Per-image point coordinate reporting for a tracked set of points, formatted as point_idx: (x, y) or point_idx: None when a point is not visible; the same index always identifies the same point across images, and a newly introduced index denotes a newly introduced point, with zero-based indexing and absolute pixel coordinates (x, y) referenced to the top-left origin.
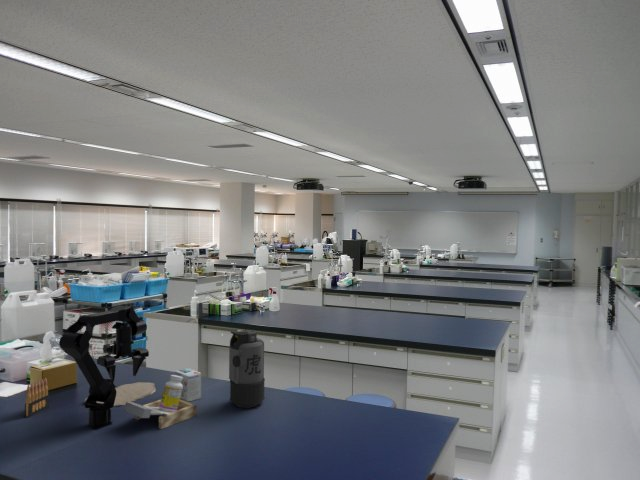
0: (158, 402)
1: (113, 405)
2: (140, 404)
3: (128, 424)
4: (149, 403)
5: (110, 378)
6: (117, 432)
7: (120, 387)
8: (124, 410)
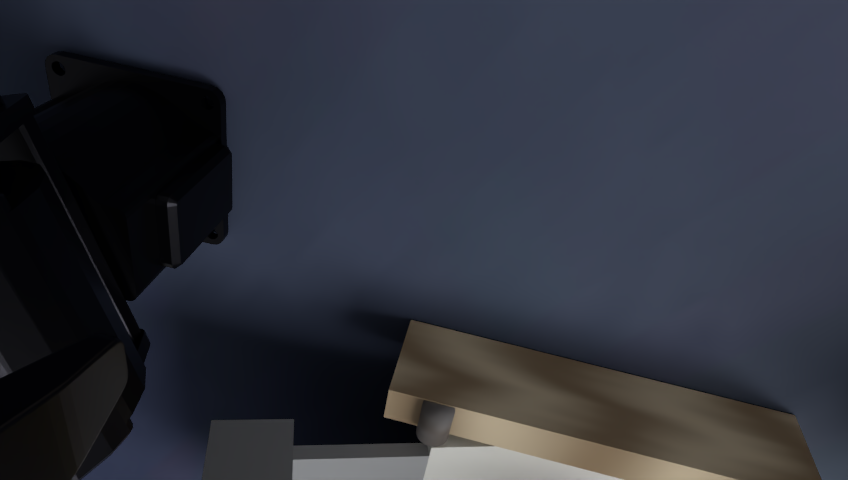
0: (623, 473)
1: (143, 351)
2: (435, 427)
3: (300, 342)
4: (547, 436)
5: (25, 377)
6: (173, 358)
7: None
8: (211, 426)
